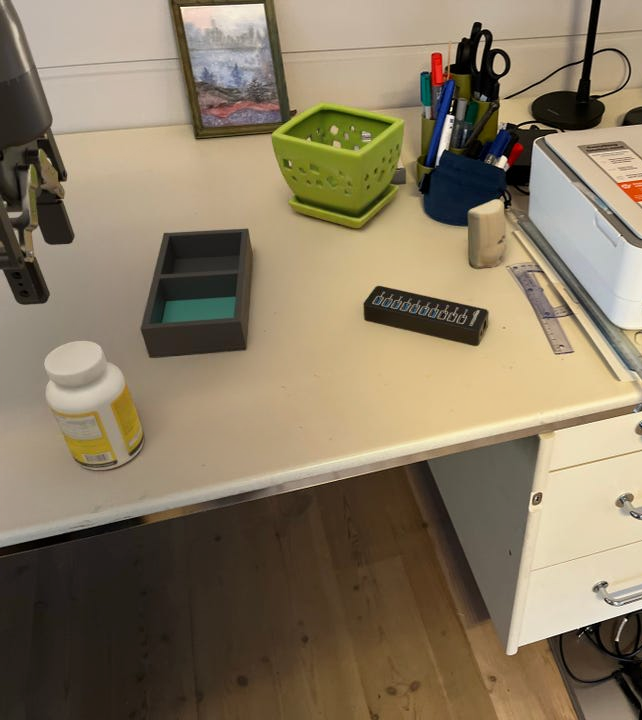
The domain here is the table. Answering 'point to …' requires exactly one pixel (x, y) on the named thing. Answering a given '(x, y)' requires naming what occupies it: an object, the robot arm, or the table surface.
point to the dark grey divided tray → (199, 294)
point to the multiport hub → (426, 315)
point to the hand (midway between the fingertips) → (48, 270)
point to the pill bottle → (92, 406)
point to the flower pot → (339, 162)
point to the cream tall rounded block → (486, 234)
